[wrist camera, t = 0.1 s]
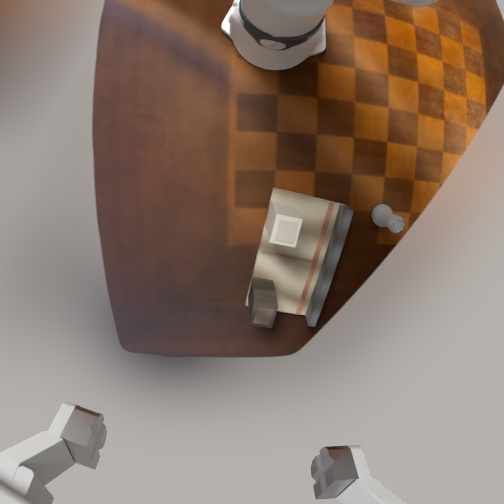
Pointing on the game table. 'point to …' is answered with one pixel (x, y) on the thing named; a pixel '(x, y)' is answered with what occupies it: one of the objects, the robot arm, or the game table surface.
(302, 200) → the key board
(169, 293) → the game table surface
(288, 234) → the ivory key
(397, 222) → the rook chess piece
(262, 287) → the ebony key
